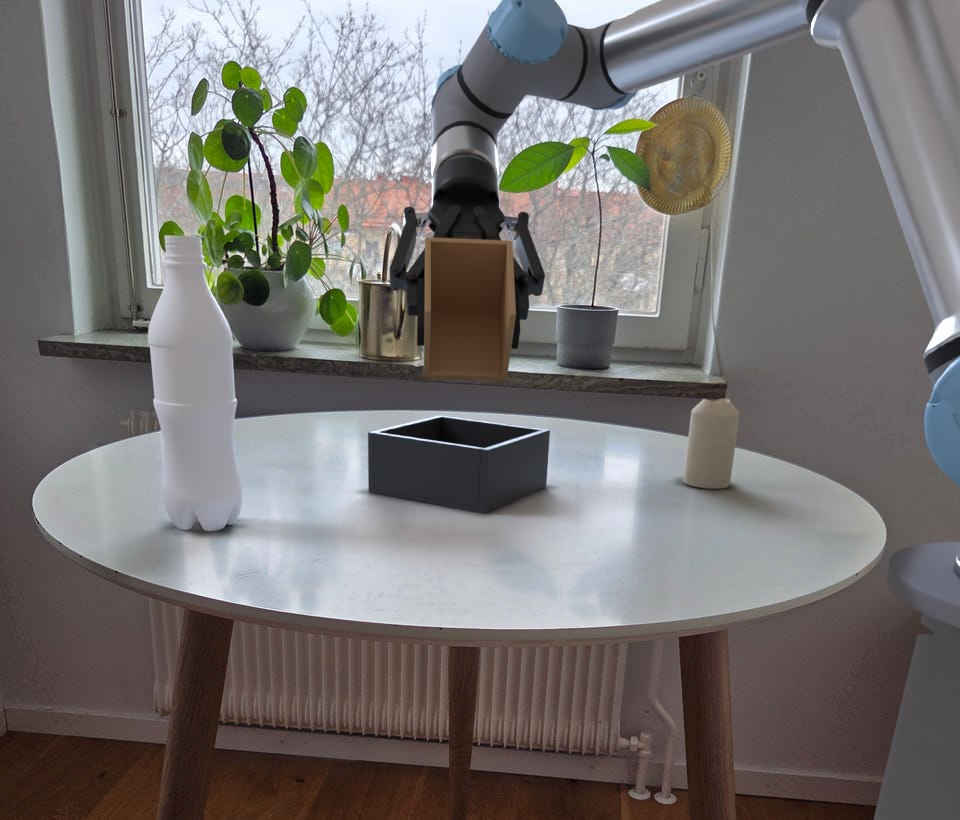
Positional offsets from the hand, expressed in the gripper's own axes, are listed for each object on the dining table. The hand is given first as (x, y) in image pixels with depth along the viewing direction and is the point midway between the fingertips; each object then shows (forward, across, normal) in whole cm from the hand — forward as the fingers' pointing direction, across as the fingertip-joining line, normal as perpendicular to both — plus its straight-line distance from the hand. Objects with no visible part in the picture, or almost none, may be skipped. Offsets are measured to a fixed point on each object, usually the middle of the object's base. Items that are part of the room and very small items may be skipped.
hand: (468, 338), depth 96 cm
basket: (+9, 0, -14) cm, 17 cm away
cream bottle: (+5, -30, -18) cm, 35 cm away
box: (-5, 0, -6) cm, 8 cm away
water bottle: (+21, +25, -3) cm, 33 cm away
